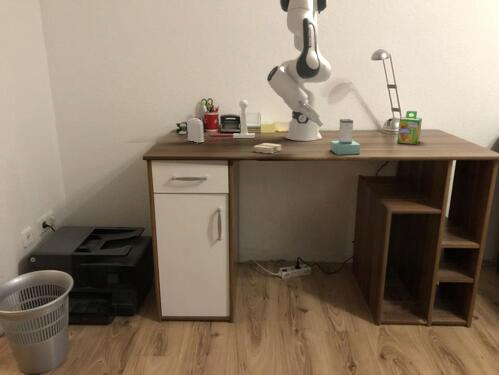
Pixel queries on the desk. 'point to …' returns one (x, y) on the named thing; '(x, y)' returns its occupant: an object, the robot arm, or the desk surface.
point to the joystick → (244, 122)
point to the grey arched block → (195, 130)
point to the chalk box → (409, 129)
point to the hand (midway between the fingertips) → (318, 123)
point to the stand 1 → (267, 148)
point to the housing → (345, 131)
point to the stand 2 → (345, 148)
